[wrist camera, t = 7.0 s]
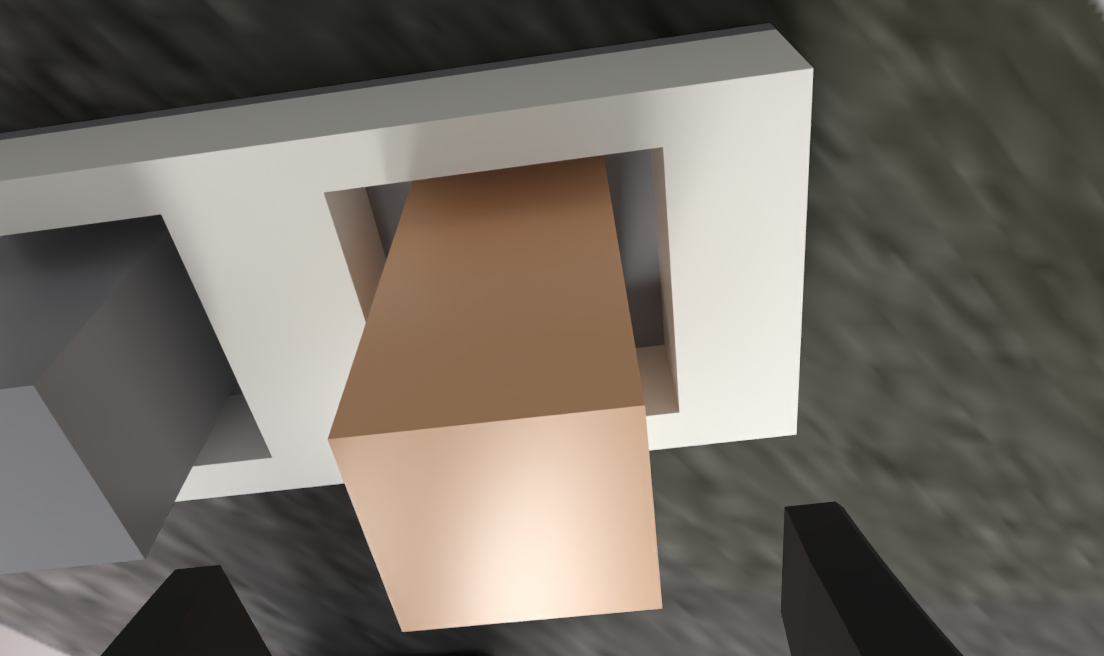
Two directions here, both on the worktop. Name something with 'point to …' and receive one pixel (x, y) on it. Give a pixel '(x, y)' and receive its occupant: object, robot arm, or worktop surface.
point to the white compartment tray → (450, 149)
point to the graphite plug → (99, 391)
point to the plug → (502, 406)
